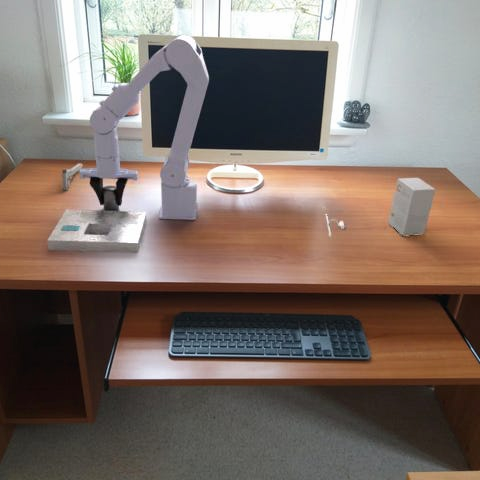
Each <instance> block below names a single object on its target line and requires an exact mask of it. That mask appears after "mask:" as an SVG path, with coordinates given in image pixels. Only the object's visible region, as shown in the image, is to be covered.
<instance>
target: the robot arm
mask: <svg viewBox="0 0 480 480" xmlns="http://www.w3.org/2000/svg"><path fill="white" fill-rule="evenodd" d="M202 50H203V49H202V48H201V47H200V45H199V44H198V42H197V41H196V39H195V38H194V37H192V36H191V35H189V34H187V33H185V34H184V33H183V34H182V33H181V34H178V35H176V36H175V37H174V38H173V40H172V41H170V42H168V43H167V44H166V45H164V46H163V47H161V48H160V49H159V50H158V51H157V52H155V53H154V54H153V55H152V56H151V57H150V59H149V60H148V61H147V62H145V64H144V65H143V66H142V68H141V69H140V70H139V71H138V72H137V73H136V75H135V76H134V77H133V78H132V79H131V81H129V82H121V83H119V84H114V86H113V87H112V88H111V91H112V92H111V93H110V94H109V95H108V96H107V97H106V98H105V99H102V100H101V101H100V102H99V105H100V106H98V107H97V108H96V109H95V110H93V111H92V113H91V115H90V117H89V124H90V127H91V128H92V129H93V135H94V137H93V141H94V153H95V161H96V167H95V168H94V167H93V168H91V167H90V168H81V169H80V170H79V171H78V173H79V179H80V180H81V179H85V178H87V179H88V178H89V185H90V187H91V188H92V190H93V191H94V193H95V194H96V196H97V200H98V202H99V205H100V206H103V195H102V188H103V187H104V179H107V180H108V179H111V180H113V179H114V180H117V181H116V182H115V186H116V188H117V195H118V206H119V207H121V206H122V204H123V197H124V191H125V189H126V186H127V183H128V180H132V181H134V182H135V181H136V182H137V181H138V179H139V171H138V170H132V169H131V170H130V169H126V168H121V163H120V148H119V136H118V127H117V125H118V124H119V123H120V120H122V119H123V118H125V116H126V115H127V114H128V113H129V112H130V111H132V109H133V108H134V107H135V106H136V105H137V104H138V103H139V101H140V92H141V91H142V90H143V89H144V88H145V87H147V85H148V84H149V83H150V82H151V81H152V80H154V78H155V77H157V75H158V74H159V73H160V72H164V71H170V70H171V69H172V68H174V70H176V71H177V72H179V73H180V74H181V76H182V78H183V79H184V81H185V82H186V85H187V86H186V90H185V94H184V96H183V97H184V98H183V101H182V104H181V108H180V113H179V117H178V121H177V125H176V128H175V132H174V136H173V140H172V143H171V147H170V150H169V154H167V156H166V157H165V161H164V164H163V166H162V167H161V169H160V172H159V176H160V182H161V183H160V188H161V189H160V190H161V195H160V197H161V207H160V211H159V215H158V218H159V219H161V220H162V219H163V220H186V221H187V220H190V221H195V220H196V218H197V210H198V208H199V206H198V200H197V199H198V198H197V197H198V193H197V192H198V183H197V182H195V181H190V178H189V176H188V175H187V173H188V169H190V168H189V167H190V159H189V154H190V150H191V147H192V143H193V138H194V135H195V131H196V128H197V124H198V121H199V118H200V114H201V111H202V106H203V104H204V100H205V97H206V92H207V89H208V86H209V82H210V75H209V72H208V69H207V65H206V62H205V59H204V56H203V55H204V54H203V51H202Z"/></svg>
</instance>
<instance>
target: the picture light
mask: <svg viewBox="0 0 480 480" xmlns="http://www.w3.org/2000/svg"><path fill="white" fill-rule="evenodd" d="M325 215H326V217H325V221H326V226H327V227H328V228H327V227H326V228H327V232H328V236H329V237H330V238H331V237H332V232H331V226H330V223H331V222H336V221H337V219H336V218H334V219H333V218H331V219H329V218H328V217H329V216H327V215H328V213H327V214H325V213H324V216H325ZM337 225H338V227H339V228H340V227H341V228H340V229H341V230H345V223H344V220H339V222H337Z"/></svg>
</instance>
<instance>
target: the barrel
mask: <svg viewBox="0 0 480 480" xmlns="http://www.w3.org/2000/svg"><path fill="white" fill-rule="evenodd" d="M102 195H103V205H102V206H103V211H120V206H118V195H117V188H116V185H106V186H103V188H102Z"/></svg>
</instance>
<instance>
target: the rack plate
mask: <svg viewBox="0 0 480 480" xmlns="http://www.w3.org/2000/svg"><path fill="white" fill-rule="evenodd" d="M58 220H59V221H58V222H57V223H56V225H55V227H54V229H53V230H52V232H51V234H49V237H48V238H47V240H46V241H47V247H48V250H49V251H78V252H81V251H82V252H105V253H106V252H107V253H108V252H109V253H111V252H112V253H117V252H119V253H139V250H140V246H141V243H142V240H143V235H144V233H145V228H146V224H147V222H148V221H147V212H146V211H129V210H128V211H126V210H121V211H120V210H119V211H104V210H99V209H97V210H94V209H93V210H92V209H68V208H66V209H65V211H64V212H63V213H62V216H61V218H60V219H58ZM90 233H91V234H90ZM92 233H95V234H92Z"/></svg>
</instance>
